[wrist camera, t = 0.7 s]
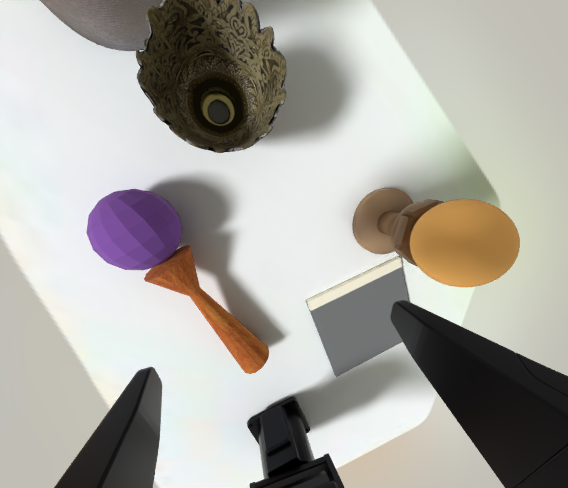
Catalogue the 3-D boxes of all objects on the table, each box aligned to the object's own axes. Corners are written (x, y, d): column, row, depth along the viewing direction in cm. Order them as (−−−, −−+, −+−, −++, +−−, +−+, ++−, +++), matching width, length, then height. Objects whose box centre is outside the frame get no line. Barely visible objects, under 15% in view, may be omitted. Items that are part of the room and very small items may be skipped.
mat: (305, 300, 26) (307, 302, 26) (397, 256, 28) (400, 257, 27) (334, 374, 31) (336, 377, 30) (413, 332, 32) (416, 335, 32)
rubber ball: (458, 250, 22) (545, 278, 16) (399, 279, 21) (468, 320, 15) (451, 184, 20) (549, 187, 14) (385, 213, 19) (459, 231, 13)
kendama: (228, 397, 23) (41, 232, 14) (233, 347, 28) (98, 204, 20) (283, 371, 22) (120, 183, 14) (277, 325, 28) (157, 168, 19)
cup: (193, 36, 18) (171, -65, 10) (278, 95, 20) (310, 49, 13) (155, 130, 19) (110, 101, 11) (240, 175, 21) (250, 176, 14)
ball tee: (413, 236, 28) (466, 253, 22) (361, 261, 27) (401, 286, 21) (403, 178, 25) (459, 179, 19) (345, 203, 24) (385, 212, 18)
